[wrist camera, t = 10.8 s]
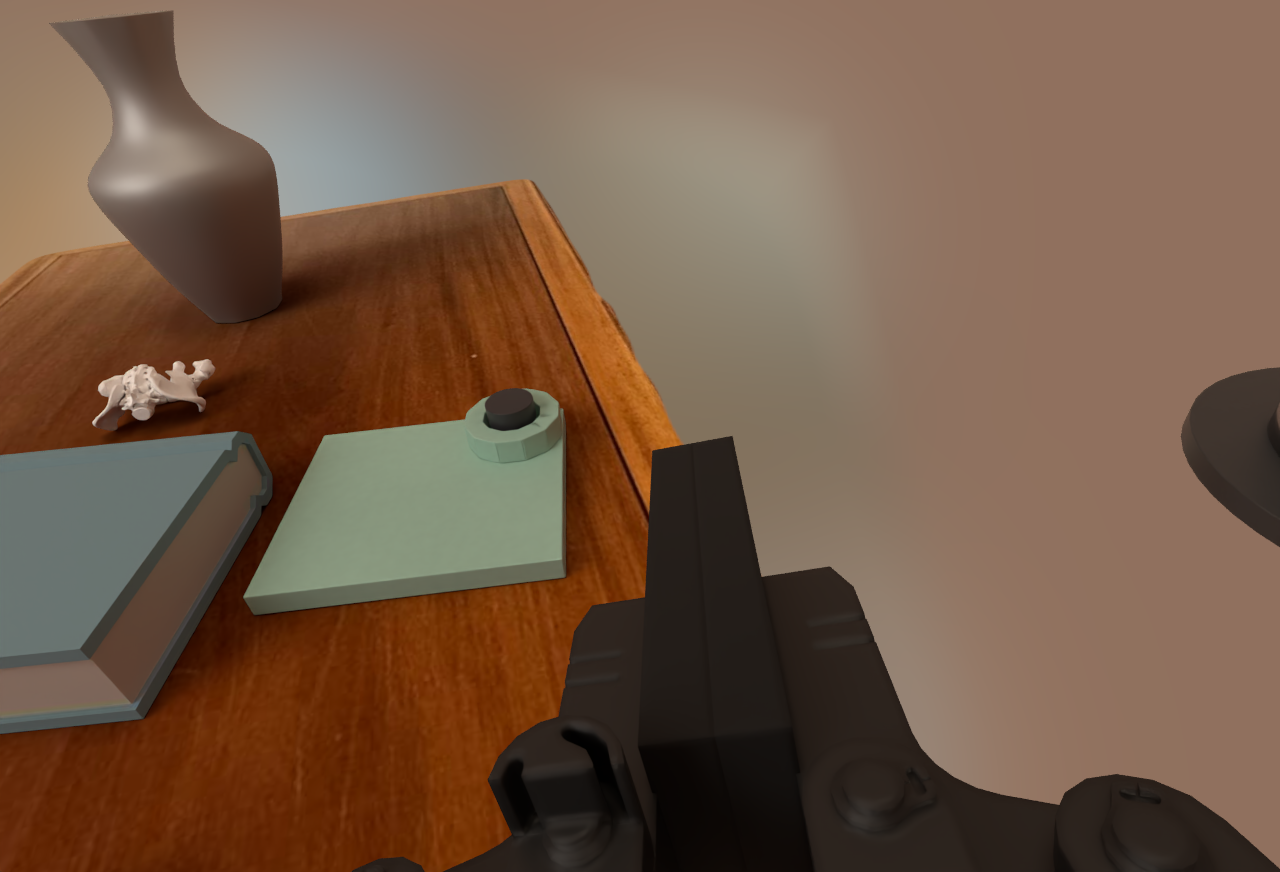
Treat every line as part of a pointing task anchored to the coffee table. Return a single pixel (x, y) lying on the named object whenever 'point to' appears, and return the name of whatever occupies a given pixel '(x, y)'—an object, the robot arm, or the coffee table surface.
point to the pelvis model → (150, 391)
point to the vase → (180, 173)
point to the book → (114, 568)
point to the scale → (421, 513)
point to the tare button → (510, 409)
